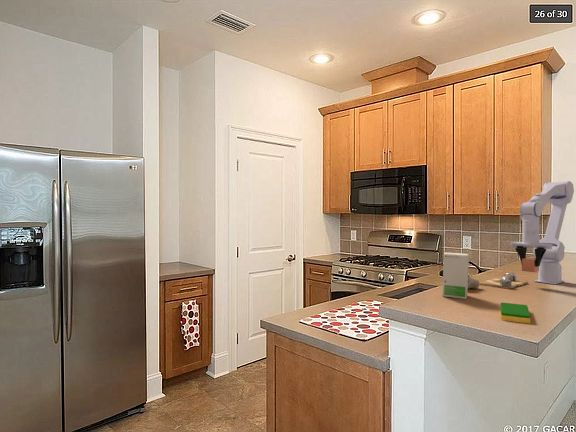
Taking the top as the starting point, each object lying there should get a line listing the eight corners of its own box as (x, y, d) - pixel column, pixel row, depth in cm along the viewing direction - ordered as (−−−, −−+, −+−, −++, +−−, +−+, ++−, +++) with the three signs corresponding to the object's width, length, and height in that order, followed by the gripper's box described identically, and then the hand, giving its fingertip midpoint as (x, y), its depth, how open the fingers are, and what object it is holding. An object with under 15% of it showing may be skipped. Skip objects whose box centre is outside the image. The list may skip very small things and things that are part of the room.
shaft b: (499, 283, 155) (499, 276, 155) (509, 284, 154) (509, 276, 154) (501, 285, 151) (501, 277, 151) (511, 286, 150) (511, 278, 150)
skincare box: (442, 296, 137) (442, 253, 137) (444, 293, 143) (444, 251, 143) (467, 299, 133) (467, 255, 133) (468, 295, 139) (468, 252, 139)
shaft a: (508, 279, 165) (508, 271, 165) (516, 280, 162) (516, 272, 162) (502, 280, 162) (502, 272, 162) (511, 281, 160) (511, 274, 160)
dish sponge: (500, 321, 109) (500, 312, 109) (500, 309, 121) (500, 302, 121) (530, 324, 105) (530, 316, 105) (527, 312, 117) (527, 304, 117)
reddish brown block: (526, 269, 156) (526, 257, 156) (539, 271, 153) (539, 258, 152) (521, 270, 154) (521, 258, 153) (534, 272, 150) (534, 259, 150)
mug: (485, 290, 148) (477, 269, 145) (462, 301, 149) (453, 280, 146) (475, 282, 155) (467, 262, 152) (453, 292, 156) (445, 272, 153)
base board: (498, 279, 169) (498, 277, 169) (527, 283, 159) (527, 281, 159) (478, 284, 159) (478, 282, 159) (508, 289, 149) (508, 286, 149)
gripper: (507, 231, 156) (507, 264, 157) (547, 233, 145) (547, 268, 145) (514, 230, 161) (514, 262, 161) (554, 232, 149) (554, 267, 149)
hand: (530, 265), depth 153 cm, fingers closed on reddish brown block, 4 cm apart
